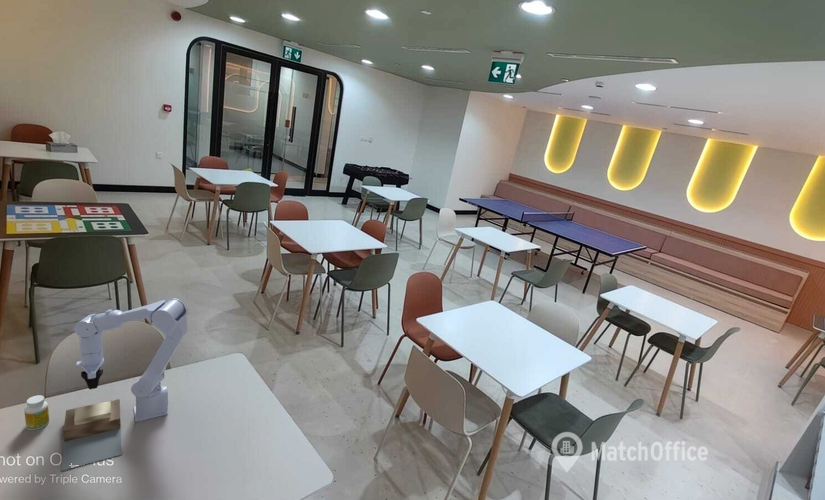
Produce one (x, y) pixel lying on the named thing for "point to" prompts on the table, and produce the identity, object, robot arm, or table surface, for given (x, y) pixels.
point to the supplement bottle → (36, 413)
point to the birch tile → (92, 413)
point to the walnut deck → (91, 424)
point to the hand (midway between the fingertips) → (93, 384)
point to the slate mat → (91, 449)
